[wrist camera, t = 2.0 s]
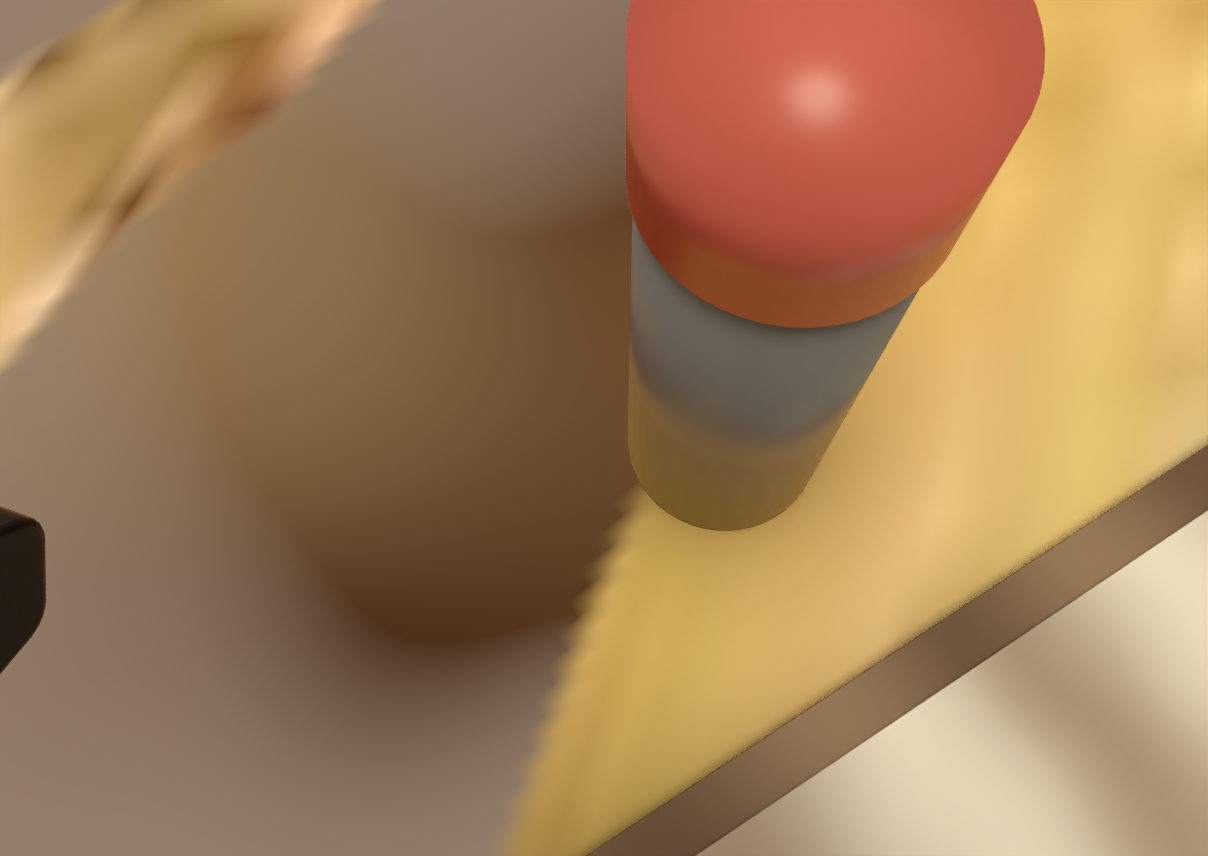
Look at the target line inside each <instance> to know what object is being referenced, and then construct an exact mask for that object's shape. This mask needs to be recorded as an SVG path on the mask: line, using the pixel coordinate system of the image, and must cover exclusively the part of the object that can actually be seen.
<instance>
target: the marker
mask: <svg viewBox="0 0 1208 856" xmlns="http://www.w3.org/2000/svg"><path fill="white" fill-rule="evenodd" d="M626 47H627V48H626V49H627V51H626V155H625V157H626V158H625V160H626V161H625V162H626V163H625V180H626V188H627V197H628V201H629V205H630V209H631V212H632V216H633V219H632V220H633V221H632V222H633V223H632V264H631V265H632V266H631V310H630V356H629V400H628V402H629V403H628V450H629V455H630V460H631V464H632V467H633V469H634V472H635V474H636V476H637V478H638V480H639V482H640V483H641V485H642V487H643V488H644V490H645V491H646V492H647V493H648V495H649V496H650V497H651V498H652V499H653V500H654V501H655V502H656V503H657V504H658V505H659V506H660V507H661V508H663V509H664V510H665V511H666V512H668V513H669V514H671V515H673V516H674V517H676V518H678V519H679V520H682V521H684V522H686V523H689V524H691V525H694V526H698V527H701V528H706V529H712V530H739V529H745V528H749V527H753V526H756V525H759V524H761V523H764V522H766V521H768V520H770V519H772V518H774V517H776V516H777V515H779V514H780V513H781V512H783V511H784V510H786V509H787V508H788V507H789V506H790V505H791V504H792V503H793V502H794V501H795V500H796V499H797V497H798V496H799V495H800V494H801V492H802V491H803V489H804V488H805V486H806V484H807V482H808V481H809V479H810V477H811V476H812V474H813V472H814V470H815V469H816V467H817V465H818V463H819V462H820V460H821V458H822V456H823V455H824V453H825V451H826V450H827V448H828V446H829V444H830V443H831V441H832V439H833V437H834V436H835V434H836V432H837V431H838V429H839V427H840V425H841V424H842V422H843V420H844V418H845V417H846V415H847V413H848V411H849V410H850V408H851V406H852V405H853V403H854V401H855V399H856V398H857V396H858V394H859V392H860V391H861V389H862V387H863V385H864V384H865V382H866V380H867V379H868V377H869V375H870V373H871V372H872V370H873V368H874V366H875V365H876V363H877V361H878V359H879V358H880V356H881V354H882V353H883V351H884V349H885V347H886V346H887V344H888V342H889V340H890V339H891V337H892V335H893V333H894V332H895V330H896V328H897V327H898V325H899V323H900V321H901V320H902V318H903V316H904V314H905V313H906V311H907V309H908V307H909V306H910V304H911V302H912V301H913V299H914V297H915V295H916V294H917V292H918V290H919V288H920V287H922V286H923V285H924V284H925V283H926V282H927V281H928V280H929V279H930V278H931V277H932V276H933V275H934V274H935V273H936V271H937V270H938V269H939V268H940V266H941V265H942V264H943V263H944V261H945V260H946V258H947V257H948V255H949V253H950V252H951V250H952V248H953V247H954V245H955V243H956V242H957V240H958V238H959V237H960V235H961V233H962V231H963V230H964V228H965V226H966V225H967V223H968V221H969V220H970V218H971V216H972V215H973V213H974V211H975V210H976V208H977V206H978V205H979V203H980V201H981V200H982V198H983V196H984V194H985V193H986V191H987V189H988V188H989V186H990V184H991V183H992V181H993V179H994V178H995V176H996V174H997V173H998V171H999V169H1000V168H1001V166H1002V164H1003V163H1004V161H1005V159H1006V157H1007V156H1008V154H1009V152H1010V151H1011V149H1012V147H1013V146H1014V144H1015V142H1016V141H1017V139H1018V137H1019V136H1020V134H1021V132H1022V130H1023V129H1024V127H1025V125H1026V124H1027V122H1028V120H1029V119H1030V117H1031V115H1032V112H1033V110H1034V107H1035V105H1036V102H1037V99H1038V97H1039V94H1040V89H1041V84H1042V80H1043V75H1044V61H1045V46H1044V38H1043V30H1042V25H1041V21H1040V18H1039V14H1038V11H1037V7H1036V4H1035V2H1034V0H631V3H630V8H629V13H628V18H627V46H626Z"/></svg>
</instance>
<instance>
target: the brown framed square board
mask: <svg viewBox="0 0 1208 856" xmlns="http://www.w3.org/2000/svg"><path fill="white" fill-rule="evenodd" d="M586 856H1208V445H1207V446H1206V447H1204V448H1203V449H1201V450H1200V451H1198V452H1197V453H1195V454H1194V455H1192V456H1191V457H1189V458H1188V459H1186V460H1185V461H1183V462H1182V463H1180V464H1178V465H1177V466H1175V467H1174V468H1172V469H1171V470H1169V471H1168V472H1166V473H1165V474H1163V475H1162V476H1160V477H1159V478H1157V479H1156V480H1154V481H1153V482H1151V483H1150V484H1148V485H1147V486H1145V487H1144V488H1142V489H1141V490H1139V491H1138V492H1136V493H1135V494H1133V495H1132V496H1130V497H1129V498H1127V499H1125V500H1124V501H1122V502H1121V503H1119V504H1118V505H1116V506H1115V507H1113V508H1112V509H1110V510H1109V511H1107V512H1106V513H1104V514H1103V515H1101V516H1100V517H1098V518H1097V519H1095V520H1094V521H1092V522H1091V523H1089V524H1088V525H1086V526H1085V527H1083V528H1082V529H1080V530H1079V531H1077V532H1076V533H1074V534H1072V535H1071V536H1069V537H1068V538H1066V539H1065V540H1063V541H1062V542H1060V543H1059V544H1057V545H1056V546H1054V547H1053V548H1051V549H1050V550H1048V551H1047V552H1045V553H1044V554H1042V555H1041V556H1039V557H1038V558H1036V559H1035V560H1033V561H1032V562H1030V563H1029V564H1027V565H1026V566H1024V567H1023V568H1021V569H1019V570H1018V571H1016V572H1015V573H1013V574H1012V575H1010V576H1009V577H1007V578H1006V579H1004V580H1003V581H1001V582H1000V583H998V584H997V585H995V586H994V587H992V588H991V589H989V590H988V591H986V592H985V593H983V594H982V595H980V596H979V597H977V598H976V599H974V600H973V601H971V602H970V603H968V604H966V605H965V606H963V607H962V608H960V609H959V610H957V611H956V612H954V613H953V614H951V615H950V616H948V617H947V618H945V619H944V620H942V621H941V622H939V623H938V624H936V625H935V626H933V627H932V628H930V629H929V630H927V631H926V632H924V633H923V634H921V635H920V636H918V637H917V638H915V639H913V640H912V641H910V642H909V643H907V644H906V645H904V646H903V647H901V648H900V649H898V650H897V651H895V652H894V653H892V654H891V655H889V656H888V657H886V658H885V659H883V660H882V661H880V662H879V663H877V664H876V665H874V666H873V667H871V668H870V669H868V670H867V671H865V672H864V673H862V674H860V675H859V676H857V677H856V678H854V679H853V680H851V681H850V682H848V683H847V684H845V685H844V686H842V687H841V688H839V689H838V690H836V691H835V692H833V693H832V694H830V695H829V696H827V697H826V698H824V699H823V700H821V701H820V702H818V703H817V704H815V705H814V706H812V707H811V708H809V709H807V710H806V711H804V712H803V713H801V714H800V715H798V716H797V717H795V718H794V719H792V720H791V721H789V722H788V723H786V724H785V725H783V726H782V727H780V728H779V729H777V730H776V731H774V732H773V733H771V734H770V735H768V736H767V737H765V738H764V739H762V740H761V741H759V742H758V743H756V744H754V745H753V746H751V747H750V748H748V749H747V750H745V751H744V752H742V753H741V754H739V755H738V756H736V757H735V758H733V759H732V760H730V761H729V762H727V763H726V764H724V765H723V766H721V767H720V768H718V769H717V770H715V771H714V772H712V773H711V774H709V775H708V776H706V777H705V778H703V779H701V780H700V781H698V782H697V783H695V784H694V785H692V786H691V787H689V788H688V789H686V790H685V791H683V792H682V793H680V794H679V795H677V796H676V797H674V798H673V799H671V800H670V801H668V802H667V803H665V804H664V805H662V806H661V807H659V808H658V809H656V810H655V811H653V812H652V813H650V814H648V815H647V816H645V817H644V818H642V819H641V820H639V821H638V822H636V823H635V824H633V825H632V826H630V827H629V828H627V829H626V830H624V831H623V832H621V833H620V834H618V835H617V836H615V837H614V838H612V839H611V840H609V841H608V842H606V843H605V844H603V845H602V846H600V847H599V848H597V849H595V850H594V851H592V852H591V853H589V854H588V855H586Z"/></svg>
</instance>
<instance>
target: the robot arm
mask: <svg viewBox="0 0 1208 856" xmlns="http://www.w3.org/2000/svg"><path fill="white" fill-rule="evenodd" d="M45 577H46V576H45V535H44V531H43V529H42V527H41V525H40V523H39V522H37V521H36V520H35V519H33V518H31V517H28V516H26V515H23V514H20V513H17V512H15V511H12V510H9V509H6V508H4V507H1V506H0V674H1V672H2V671H3V670H4V669H5V668H6V666H7V665H8V664H9V663H10V662H11V661H12V659H13V658H14V657H15V656H16V655H17V653H18V652H19V651H20V650H21V649H22V647H23V646H24V645H25V644H26V643H27V641H28V640H29V639H30V638H31V637H32V635H33V634H34V632H35V631H36V629H37V627H38V626H39V624H40V622H41V619H42V617H43V614H44V610H45V604H46V578H45Z"/></svg>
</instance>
